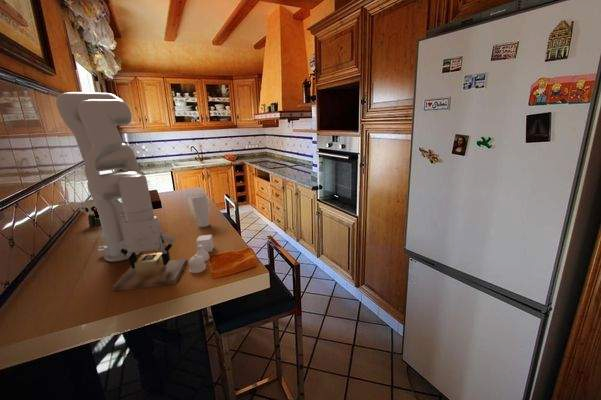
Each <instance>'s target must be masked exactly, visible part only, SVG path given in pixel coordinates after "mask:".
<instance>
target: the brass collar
mask: <svg viewBox="0 0 601 400" xmlns="http://www.w3.org/2000/svg"><path fill="white" fill-rule="evenodd" d="M148 256H154V259H153V260H145V258H146V257H148ZM134 264H135V269H136V273H137V277H138V278H140V277H149V276H158V275H160V273H161V272H162V270H163V269H164V268H165V266H166V265H164V264H163V260H162V252H161V251H160V252H153V253H150V252H149V253H144V254H143V253H142V254H141V256H140V257H139V258H137V261H136V262H135V263H134Z"/></svg>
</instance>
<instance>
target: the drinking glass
mask: <svg viewBox="0 0 601 400" xmlns="http://www.w3.org/2000/svg"><path fill="white" fill-rule="evenodd" d="M191 202H192V208H193V212H194V216H195V219H196V223H197V227H198V228H206V227H208V226H209V225H210V220H209V219H210V218H209V205H208V197H207V194H206V193H199V194H194V195H192V196H191Z"/></svg>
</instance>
